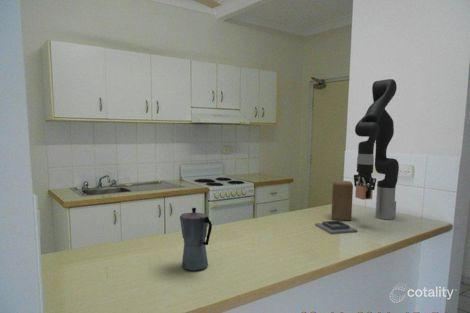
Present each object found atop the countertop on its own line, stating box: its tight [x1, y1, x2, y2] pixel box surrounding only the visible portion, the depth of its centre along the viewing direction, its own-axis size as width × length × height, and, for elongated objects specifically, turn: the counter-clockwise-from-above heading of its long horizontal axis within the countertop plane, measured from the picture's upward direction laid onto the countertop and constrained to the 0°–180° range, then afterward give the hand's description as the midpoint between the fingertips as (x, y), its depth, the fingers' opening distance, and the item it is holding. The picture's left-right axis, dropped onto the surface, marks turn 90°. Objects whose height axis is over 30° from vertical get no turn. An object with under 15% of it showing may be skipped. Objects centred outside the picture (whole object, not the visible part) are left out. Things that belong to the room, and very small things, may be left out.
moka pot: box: [179, 207, 213, 271], centre depth 106 cm, size 10×15×20 cm, turn 51°
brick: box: [354, 185, 374, 201], centre depth 154 cm, size 6×6×6 cm
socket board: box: [314, 220, 358, 235], centre depth 152 cm, size 14×14×2 cm
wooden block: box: [331, 180, 354, 222], centre depth 170 cm, size 10×10×20 cm
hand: (363, 196), depth 155 cm, fingers closed on brick, 5 cm apart
